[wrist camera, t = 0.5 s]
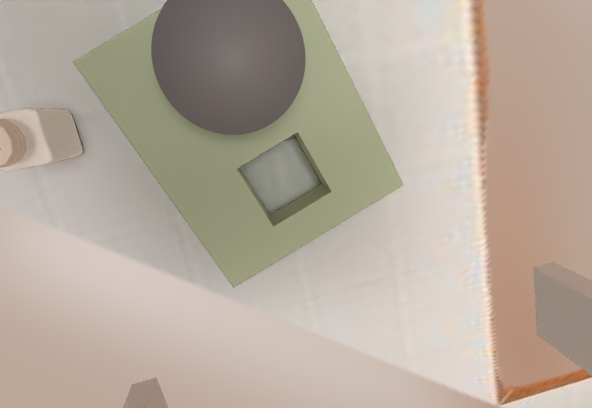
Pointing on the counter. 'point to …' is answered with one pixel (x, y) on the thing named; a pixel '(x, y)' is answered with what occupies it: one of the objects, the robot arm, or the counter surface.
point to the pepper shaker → (37, 138)
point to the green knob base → (242, 120)
